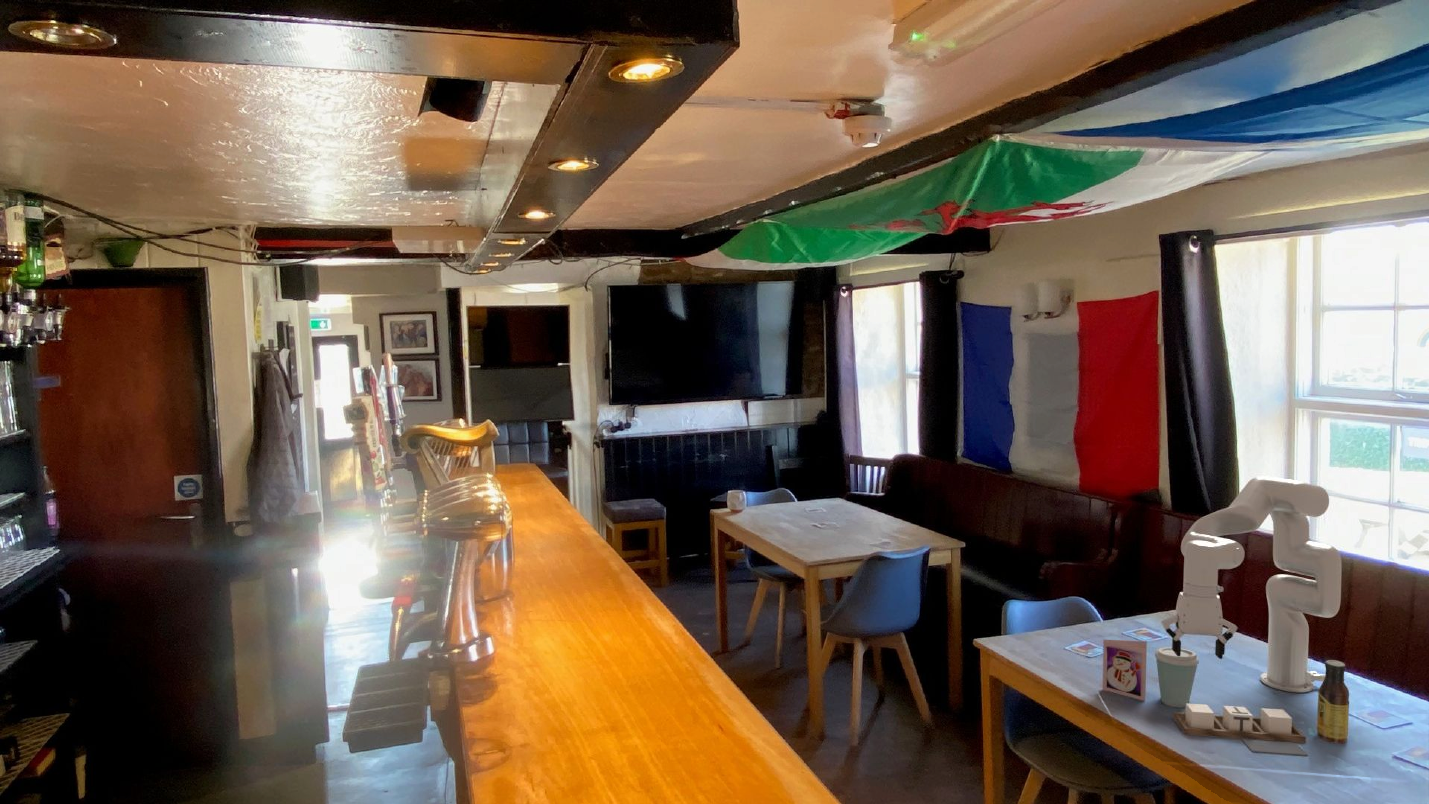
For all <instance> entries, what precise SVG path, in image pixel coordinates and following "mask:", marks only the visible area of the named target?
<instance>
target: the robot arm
mask: <svg viewBox="0 0 1429 804" xmlns="http://www.w3.org/2000/svg"><path fill="white" fill-rule="evenodd" d="M1329 506H1330V497H1329V494H1328V492H1327V491H1326V489H1325V488H1324V487H1322V486H1319V485H1316V484H1311V483H1307V482H1303V481H1300V480H1293V479H1289V478H1288V479H1287V478H1278V477H1272V476H1255V477H1253V478H1252V479H1249V481H1248V482H1247V483H1246V484H1245V485H1244V487H1243V488H1242V489H1241V491H1240V492H1239V493H1238V495H1237V496H1236V497H1235V498H1234V500H1233V501H1232V502H1231V503H1230V505H1229V506H1228V507H1225V508H1221V509H1220V510H1219V509H1218V510H1216V511H1215V512H1212V513H1209V514H1207V515H1205V516H1202V517H1200V518H1199V519H1197V520H1196V521H1194V523H1193V524H1192V525H1191V527H1190V528H1189V529H1188V530H1187V532H1186V533H1185V535H1184V536H1183V538H1182V540H1181V545H1180V551H1181V554H1182V555H1183V557H1184V558H1183V559H1184V560H1183V561H1184V562H1183V585H1182V586H1183V588H1182V591H1179V594H1178V597H1177V600H1176V607H1175V615H1172V616H1170V617H1168V618H1164V619H1162V620H1161V625H1162V627H1163V629H1164V630H1165V632H1166V633H1167V634H1168V636H1170V637H1171V638H1172V639H1171V640H1172V641H1171V643H1172V644H1171V647H1172V650H1173V651H1174V652H1175V654H1176V655H1177V656H1180V655H1181V648H1182V641H1181V640H1180V639H1181V638H1182V637H1183V636H1184V635H1193V636H1210V637H1211V636H1212V637H1216V638H1217V639H1215V646H1214V647H1215V649H1214V652H1215V653H1214V655H1215V657H1217V658H1218V659H1220V660H1223V655H1224V656H1225V653H1226V651H1225V650H1226V644H1227V643H1228V641H1229V640H1231V639H1232V638H1233V636H1234V634H1236V631H1237V630H1238V626H1237V625H1236V624H1234V623H1232V622H1230V621H1228V620H1226V619H1225V618H1224V617H1223V610H1222V602H1221V598H1220V595H1219V593H1223V592H1224V587H1223V586H1220V585H1219V584H1218V582H1219V581H1218V579H1219V570H1231V569H1234V568H1237V567H1239V566H1240V565H1241V564H1242V563H1243V561H1244V559H1245V556H1246V555H1245V554H1246V553H1245V552H1246V551H1245V549H1244V547H1243V545H1242V544H1241V543H1239V542H1238V541H1236V540H1233V539H1230V538H1225V537H1221V536H1226V535H1227V536H1228V535H1236V534H1237V535H1239V534H1245V533H1251V532H1254V531H1257V530H1258V529H1259V528H1260V527H1261V526H1262V524H1263V523H1264V521H1265V520H1266V519H1267V518H1268V516H1269V515H1270V517H1271V521H1272V528H1273V530H1272V532H1273V536H1272V557H1273V559H1272V560H1273V563H1274V566H1276V568H1278V569H1280V570H1282V571H1286V572H1290V573H1295V574H1299V575H1304V576H1309V577H1313V578H1314V579H1315V580H1314V579H1309V578H1306V577H1300V576H1296V575H1292V574H1286V573H1285V574H1281V573H1280V574H1275V575H1273V576H1270V577H1269V578H1268V580H1267V582H1266V585H1265V593H1266V599H1267V600H1266V601H1267V605H1268V641H1267V664H1266V665H1267V666H1266V668H1267V670H1266V672H1262V673H1261V674H1260V681H1261V682H1262V683H1264V685H1267V686H1268V687H1271V688H1273V689H1276V690H1280V691H1285V692H1291V693H1308V692H1311V691H1313V689H1314V684H1313V682H1315V681H1317V682H1323V681H1324V679H1325V675H1326V674H1322V673H1321V674H1320V673H1317V671H1310V670H1308V658H1309V638H1310V637H1309V634H1310V628H1309V624H1308V623H1309V622H1308V620H1307V619H1306V616H1305V615H1304V614H1308V615H1311V616H1315V617H1321V618H1326V619H1327V618H1328V619H1329V618H1330V619H1331V618H1333V617H1335V616H1336V615H1337V614H1338V612H1339V611H1340V608H1341V607H1340V606H1341V599H1342V571H1343V570H1342V569H1343V568H1342V565H1343V564H1342V558H1341V555H1340V552H1339V550H1338V549H1337V548H1336V547H1335V546H1333V545H1330V544H1326V543H1322V542H1316V541H1312V540H1311V538H1310V537H1311V536H1310V521H1309V518H1308V517H1313V518H1318V517H1321V516H1322V515H1324V514H1325V513H1326V512H1327V510H1328V509H1329ZM1173 624H1174V626H1175V629H1174V630H1172V629H1171V625H1173ZM1224 626H1225V627H1227V628H1228V629H1227V631H1225V632H1224V633H1223V631H1224V630H1223V628H1224Z"/></svg>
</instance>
